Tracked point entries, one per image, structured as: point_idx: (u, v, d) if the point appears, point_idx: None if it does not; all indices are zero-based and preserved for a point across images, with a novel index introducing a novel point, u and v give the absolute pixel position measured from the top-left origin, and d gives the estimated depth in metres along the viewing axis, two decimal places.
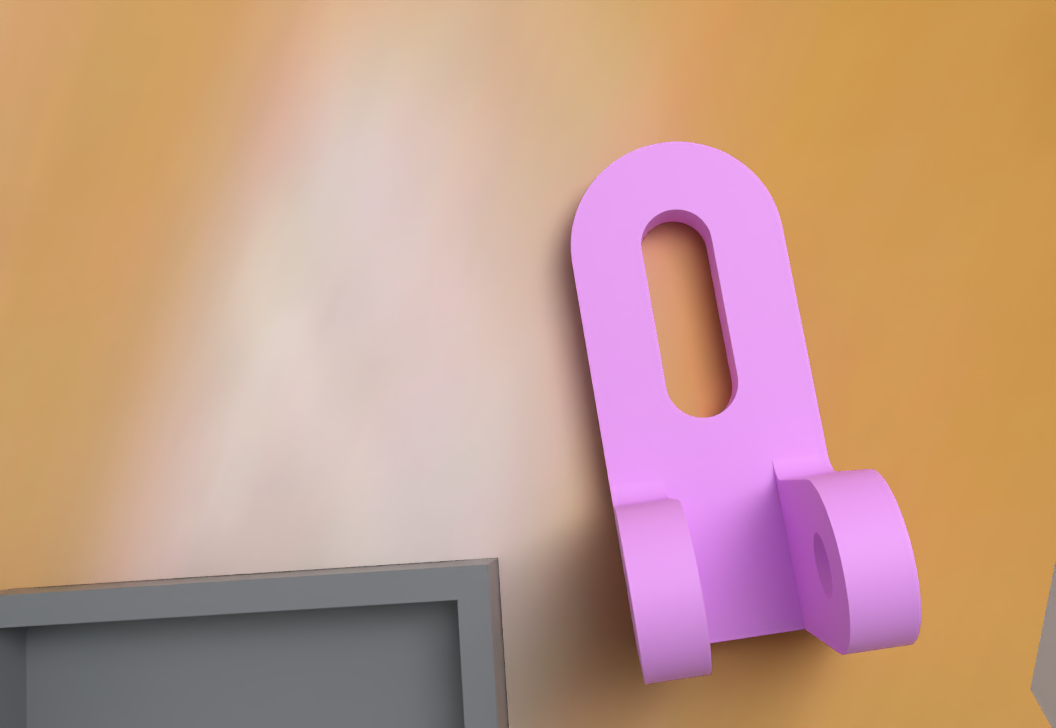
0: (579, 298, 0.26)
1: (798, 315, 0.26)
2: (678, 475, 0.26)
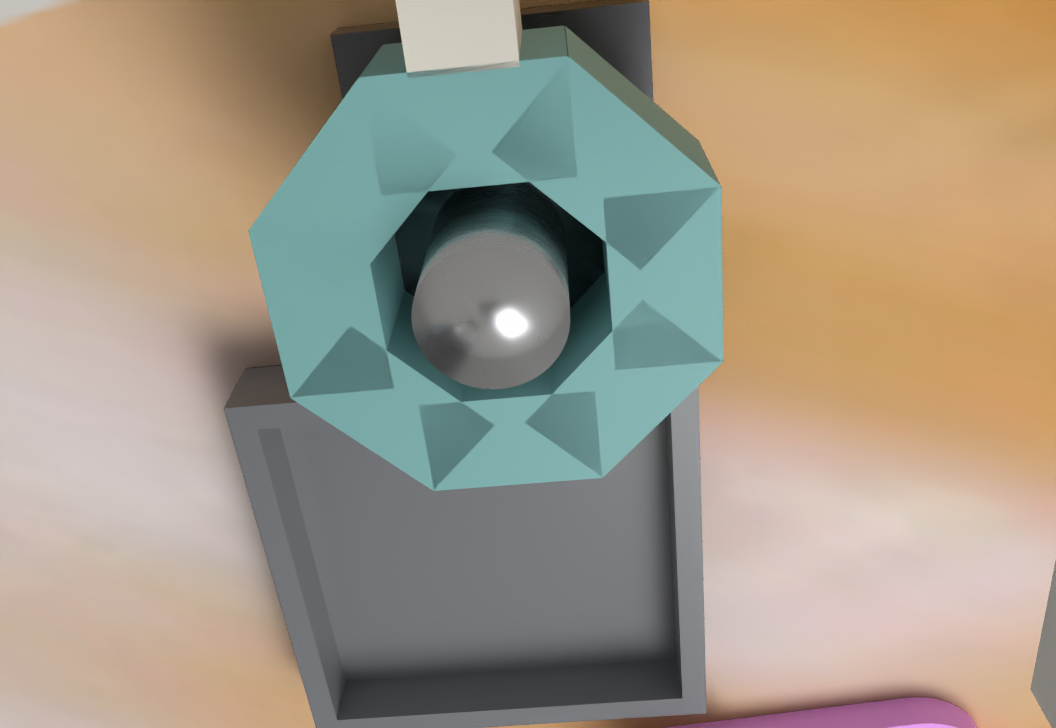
0: None
1: None
2: None
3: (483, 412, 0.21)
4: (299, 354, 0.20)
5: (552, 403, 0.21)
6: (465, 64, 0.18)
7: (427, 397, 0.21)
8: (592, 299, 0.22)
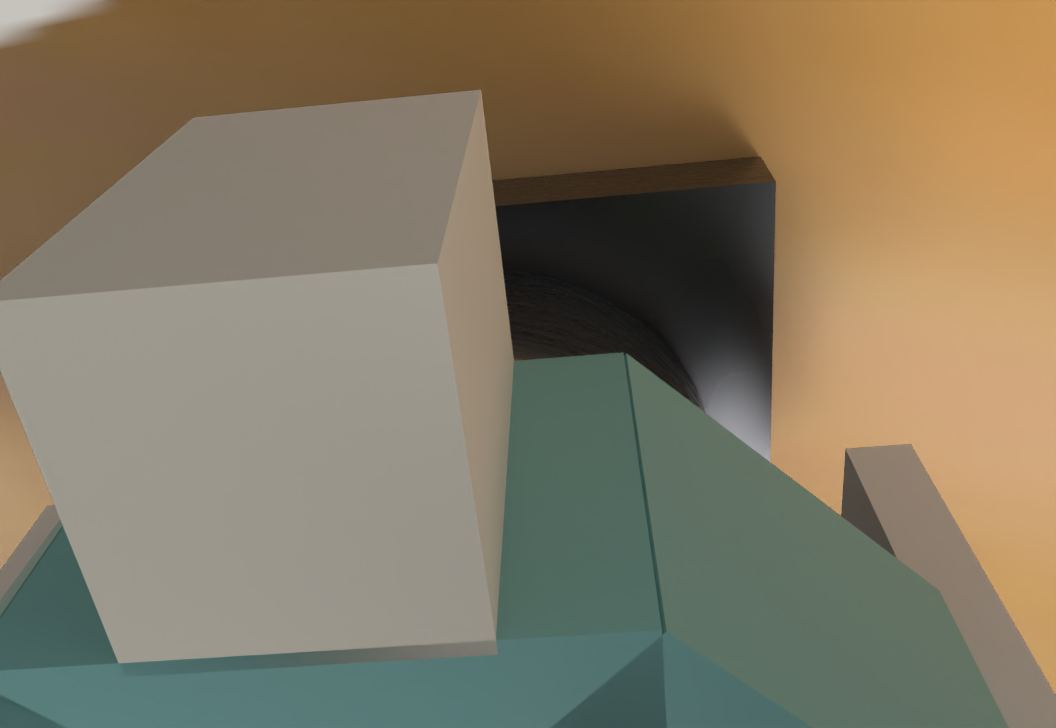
0: None
1: None
2: None
3: None
4: None
5: None
6: (316, 633, 0.05)
7: None
8: None
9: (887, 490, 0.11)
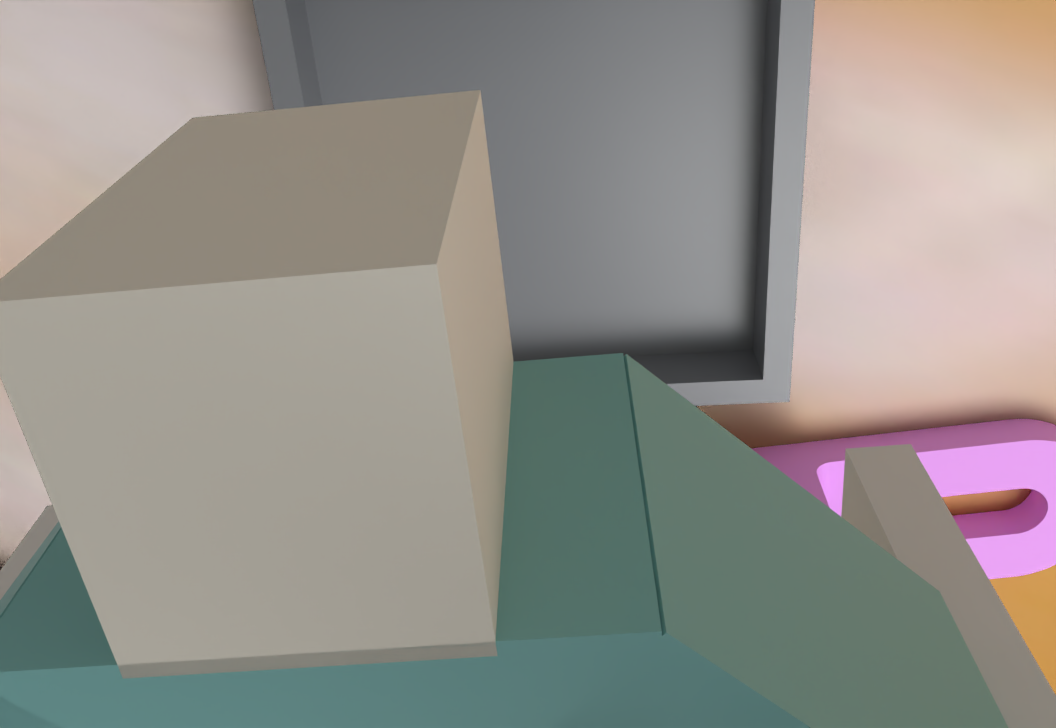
0: (991, 446, 0.31)
1: None
2: (830, 506, 0.33)
3: None
4: None
5: None
6: (316, 636, 0.05)
7: None
8: None
9: (887, 490, 0.11)
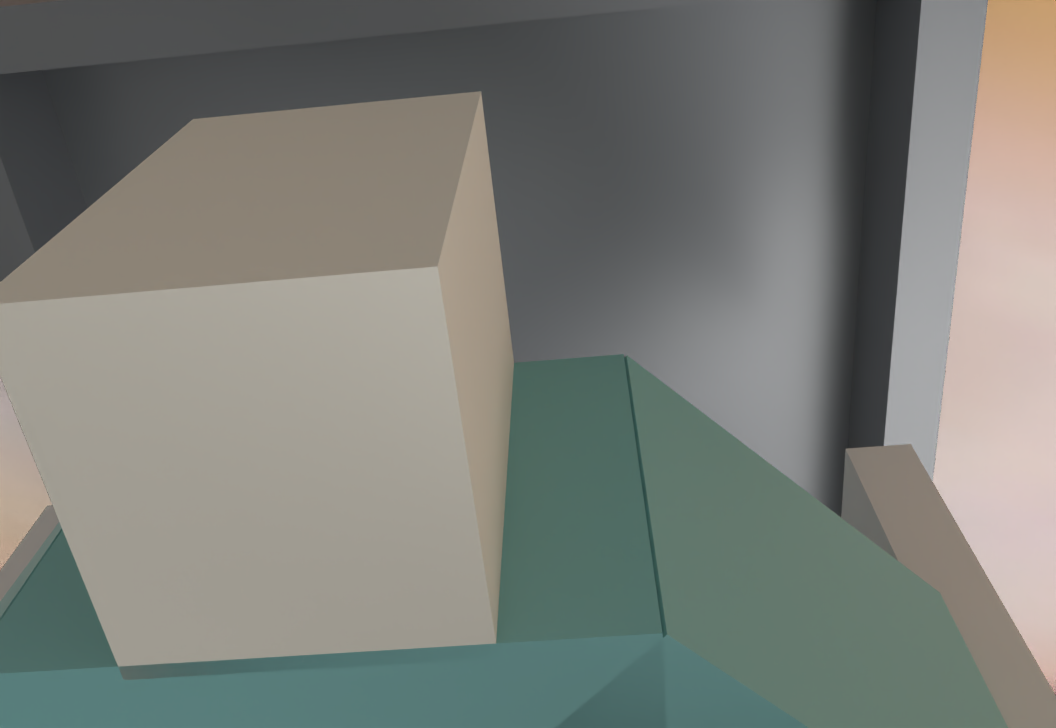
0: None
1: None
2: None
3: None
4: None
5: None
6: (318, 636, 0.05)
7: None
8: None
9: (887, 490, 0.11)
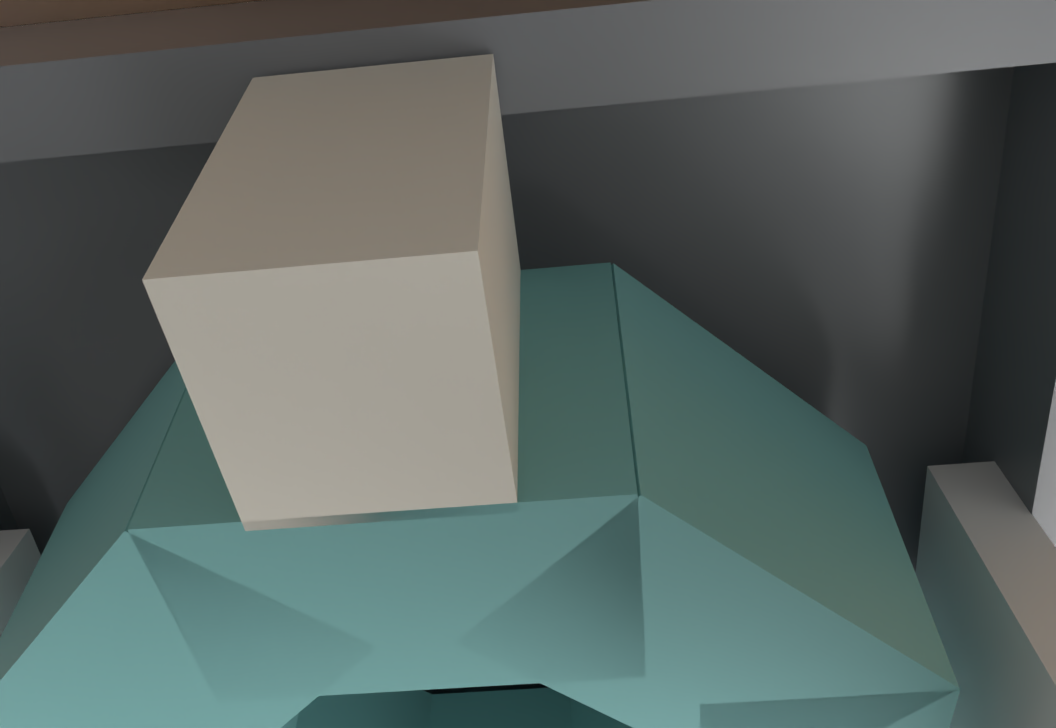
0: None
1: None
2: None
3: None
4: None
5: None
6: (385, 499, 0.07)
7: None
8: None
9: (977, 510, 0.10)
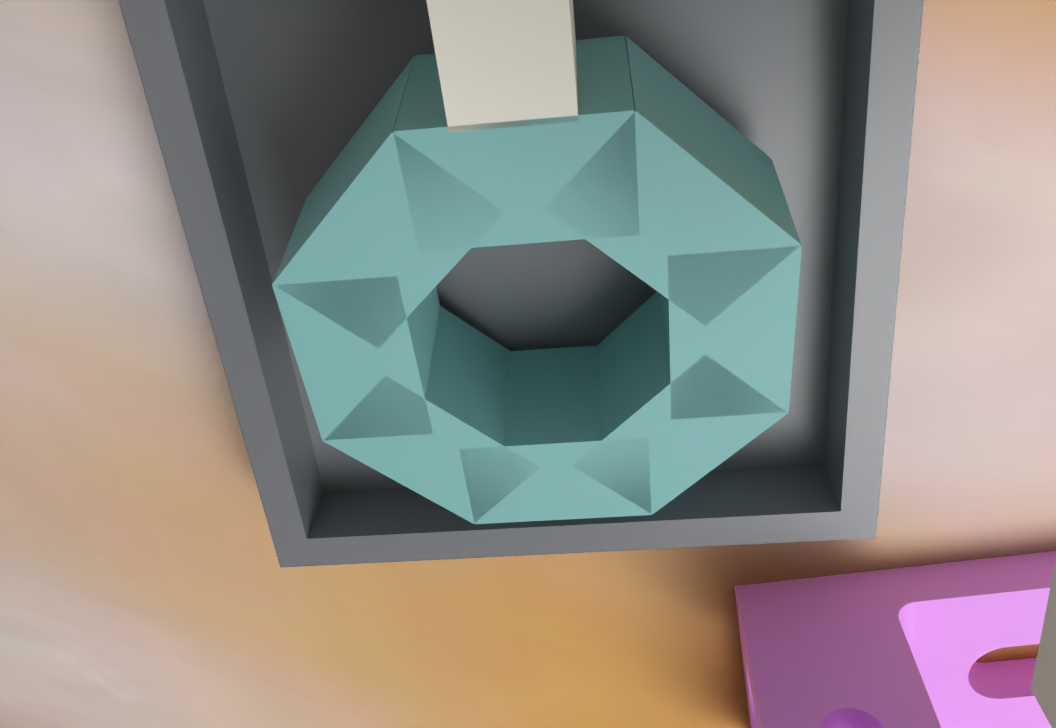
0: None
1: None
2: (914, 653, 0.25)
3: (528, 456, 0.20)
4: (331, 401, 0.19)
5: (602, 448, 0.19)
6: (515, 117, 0.15)
7: (468, 441, 0.19)
8: (645, 324, 0.20)
9: None
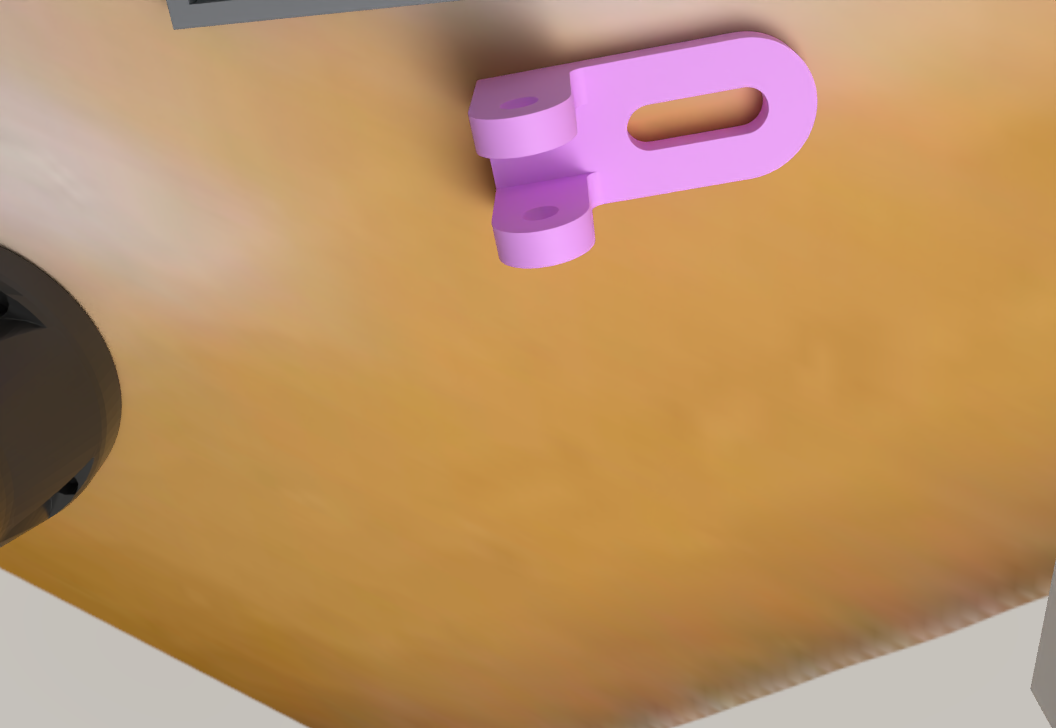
0: (712, 44, 0.38)
1: (690, 187, 0.41)
2: (589, 112, 0.39)
3: None
4: None
5: None
6: None
7: None
8: None
9: None
